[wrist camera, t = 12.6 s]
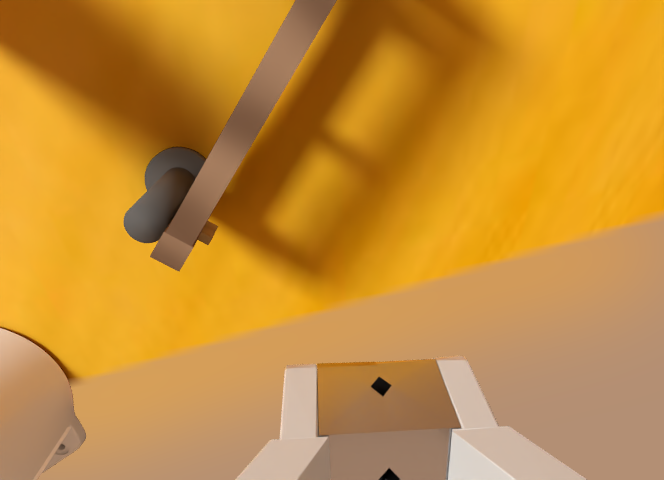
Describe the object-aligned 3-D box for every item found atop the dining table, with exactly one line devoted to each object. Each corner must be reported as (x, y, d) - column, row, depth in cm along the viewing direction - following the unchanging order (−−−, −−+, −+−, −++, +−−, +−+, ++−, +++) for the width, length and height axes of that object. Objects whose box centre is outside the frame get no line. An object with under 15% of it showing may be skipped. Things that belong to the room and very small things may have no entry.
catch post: (189, 223, 38) (156, 277, 30) (134, 182, 36) (83, 227, 28) (229, 177, 37) (205, 221, 28) (173, 132, 35) (132, 165, 27)
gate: (335, -59, 30) (345, -94, 21) (369, -33, 30) (393, -56, 22) (188, 201, 36) (149, 256, 27) (219, 218, 37) (191, 277, 28)
